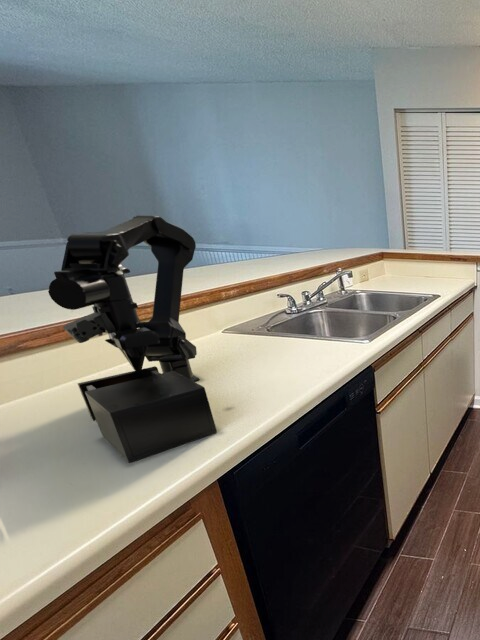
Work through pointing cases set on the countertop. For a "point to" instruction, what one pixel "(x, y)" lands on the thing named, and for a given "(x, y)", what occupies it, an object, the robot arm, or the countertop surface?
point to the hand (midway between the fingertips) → (138, 370)
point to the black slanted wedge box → (151, 414)
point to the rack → (114, 382)
